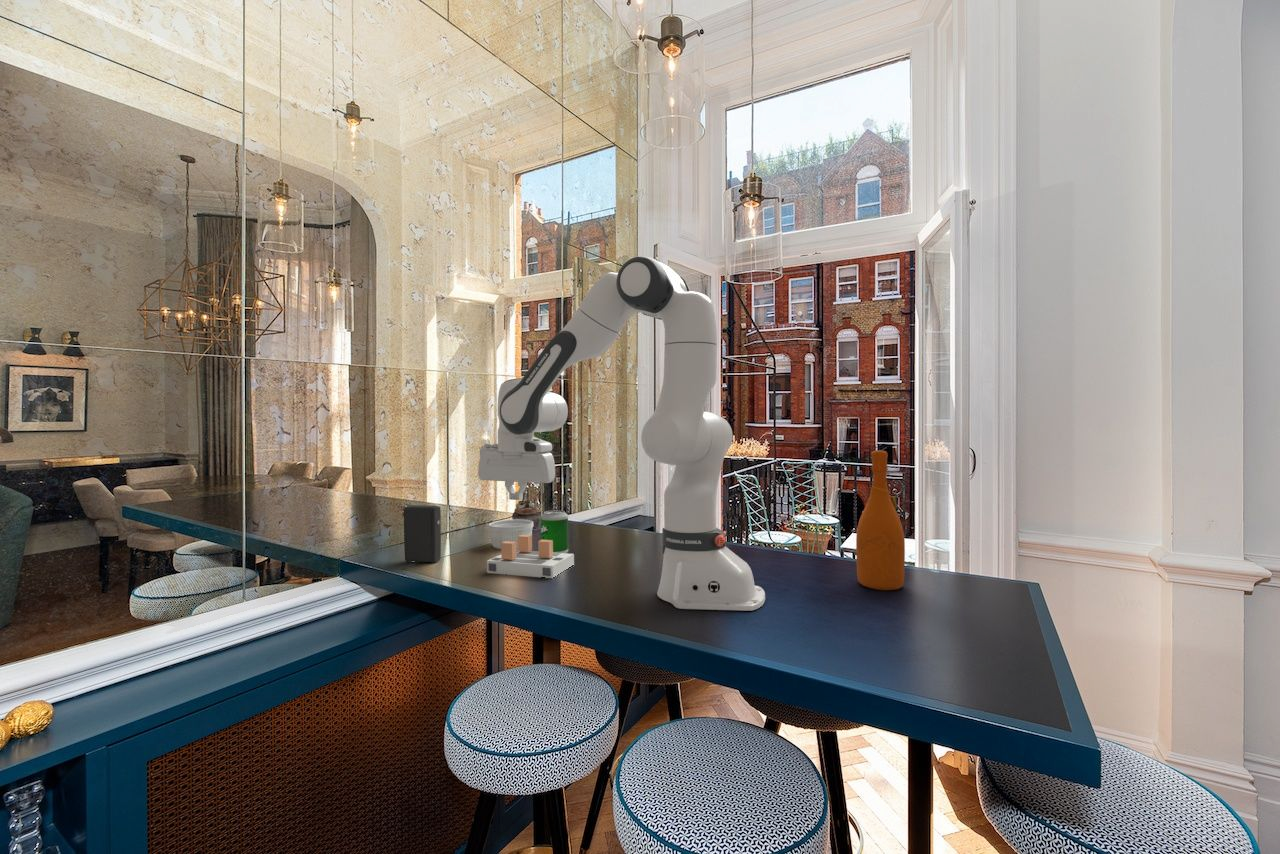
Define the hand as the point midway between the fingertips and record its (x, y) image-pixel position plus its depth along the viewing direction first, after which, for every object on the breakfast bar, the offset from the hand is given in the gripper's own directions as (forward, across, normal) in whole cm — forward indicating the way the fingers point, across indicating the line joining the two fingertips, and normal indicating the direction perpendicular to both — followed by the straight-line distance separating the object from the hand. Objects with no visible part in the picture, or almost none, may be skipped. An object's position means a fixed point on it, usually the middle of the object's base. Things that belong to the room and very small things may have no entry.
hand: (516, 499), depth 135 cm
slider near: (+14, -1, -2) cm, 15 cm away
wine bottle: (+17, +85, +12) cm, 87 cm away
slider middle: (+14, +7, +2) cm, 16 cm away
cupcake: (+19, -25, +47) cm, 56 cm away
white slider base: (+18, +3, +2) cm, 18 cm away
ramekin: (+18, -16, +24) cm, 34 cm away
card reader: (+18, -29, +1) cm, 34 cm away
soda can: (+18, +2, +17) cm, 25 cm away
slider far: (+14, -1, +6) cm, 16 cm away
